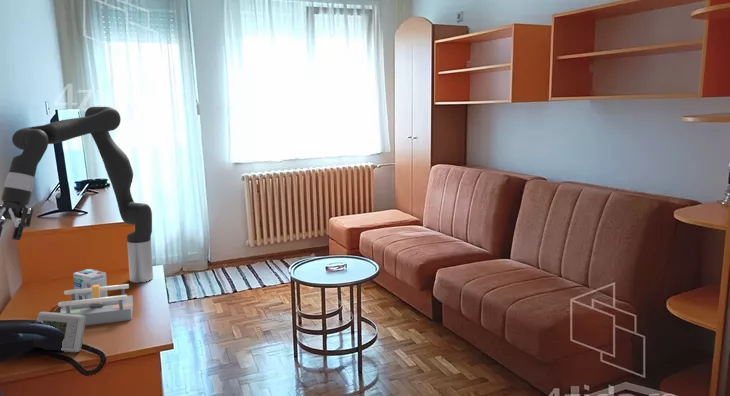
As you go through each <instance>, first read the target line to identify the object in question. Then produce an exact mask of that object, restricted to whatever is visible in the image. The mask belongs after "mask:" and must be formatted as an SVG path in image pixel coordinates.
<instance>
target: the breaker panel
mask: <svg viewBox="0 0 730 396" xmlns="http://www.w3.org/2000/svg"><path fill="white" fill-rule="evenodd" d="M129 288H130V285H129V283H124V284H115V285H107V286H104V287H100V291H107V292H108V291H115V290H121V294H120V295H112V296H108V297H102V298H93V299H84V300H76V298H75V294H80V293H89V292H92V288H84V289H75V288H73V289H68V290H67V289H66V290H64V291H63V294H64V295H66V296H68V295H70V296H71V300H66V301H59V302H58V303H57V306H58V307H59V308H61V309H60V312H59V313H70V314H75V315H83V316H85V317H86V321H85V326H92V325H98V324H109V323H115V322H124V321H132V319H133V309H134V298H133V297H134V296H133V295H132V294H131V295H128V294H126V291H125V290H126V289H129ZM100 302H104V305H103V306H100V307H91V308H90V304H91V303H100Z"/></svg>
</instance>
